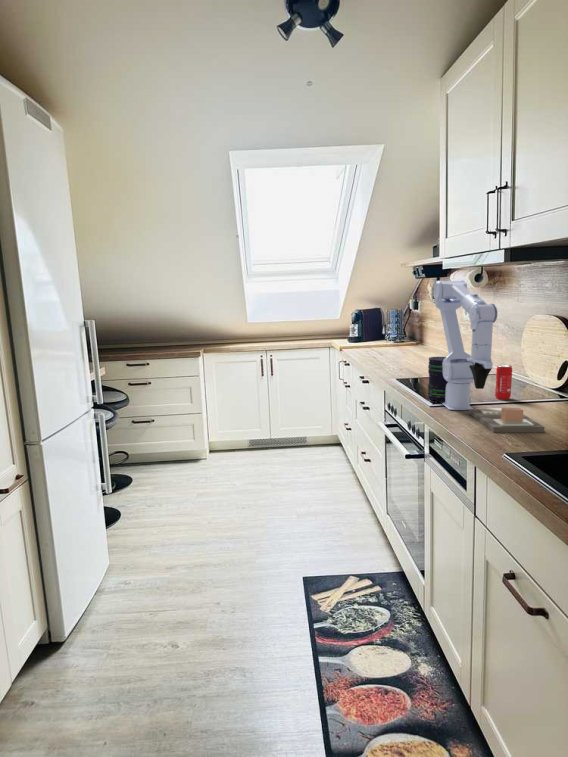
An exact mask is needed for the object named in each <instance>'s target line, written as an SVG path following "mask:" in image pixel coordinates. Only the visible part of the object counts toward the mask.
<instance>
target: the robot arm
mask: <svg viewBox="0 0 568 757" xmlns="http://www.w3.org/2000/svg"><path fill="white" fill-rule="evenodd" d="M433 299H434V304H435V307H436V308H437V309H439V310H440V311H439V312H440V315H441V321H442V326H443V331H444V336H445V342H446V345H447V350H448V355H447V356H445V357H446V358H445V359H444V360H443V363H442V364H443V377H444V379H445V380H446V381H448V383H447V385H446V393H445V402H441V404H442V405H443V406H445V408H446V409H448V410H449V411H469V409H475V408H474V407H472V406H471V404H470V403H471V402H470V401H471V383H474V388H475V389H476V390H482V389H484V388H485V385H486V381H487V379H488V376H489V374H490V372H491V371H492V370H493V360H492V345H493V344H492V343H493V329H494V328H493V326H494V325H493V324H494V323H495V322H496V321H497V318H498V308H497V306H496V305H495V303H486V301H485V300H484V299H482V298H481V297H480V296H479V294H478V293H477V292H474V293H473V292H472V293H471V292H470V291H469V290H468V284H467V282H466V281H465V280H462V279H461V280H437V281H436V282H435V284H434V286H433ZM461 307H462V309H463V310H464V311H466V313H467V314H468V316H469V322H470V330H471V329H472V330H471V331H472V332H471V348H470V349H471V351H470V352H471V353H470V354H469V353H468V352H465V348H464V343H463V342H464V341H463V340H462V339H463V338H462V334H461V330H460V325H459V321H458V320H459V319H458V315H457V310H458V309H460V308H461Z"/></svg>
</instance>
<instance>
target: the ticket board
mask: <svg viewBox="0 0 568 757" xmlns="http://www.w3.org/2000/svg"><path fill="white" fill-rule="evenodd" d="M502 408H503V407H501V408H499V407H498V408H497V407H491V408H490V407H489V408H487V407H486V408H483V407H482V408H481V407H480V408H474V409H469V410H468V415H470V416H471V417H473V419H475V420H476V421H478V422H479V423H480V424H481V425H483V426H484V427H486V428H487V429H488V430H490V431H491V432H492V433H545V426H544V425H542V424H541V423H539V422H537V421H535V420H534V419H532V418H530V417H528V416H527V415H525V414H523V419H526V420H527V421H529V422H531V423H532V424H534V426H500V425H499V424H498V423H496V422H495V421H493V419H501V410H502Z"/></svg>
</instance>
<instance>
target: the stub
mask: <svg viewBox="0 0 568 757" xmlns="http://www.w3.org/2000/svg"><path fill="white" fill-rule="evenodd" d="M501 408H502V410H501V419H493V421H495V422H496V423H498V424H499V425H500V426H534V424H532V423H531V422H529V421H527V420H526V419H523V415H524V409H522V408H521V407H501Z"/></svg>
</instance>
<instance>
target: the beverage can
mask: <svg viewBox="0 0 568 757" xmlns="http://www.w3.org/2000/svg"><path fill="white" fill-rule="evenodd" d="M512 379H513V367H512V365H510V364H509V365H508V364H498V365H497V367H496V371H495V388H494V389H495V392H494V393H495V394H494V396H495V399H497V400H500V401H502V400H503V401H505V400H506V401H507V399H508V400H510V398H511V397H512V383H513V382H512Z"/></svg>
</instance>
